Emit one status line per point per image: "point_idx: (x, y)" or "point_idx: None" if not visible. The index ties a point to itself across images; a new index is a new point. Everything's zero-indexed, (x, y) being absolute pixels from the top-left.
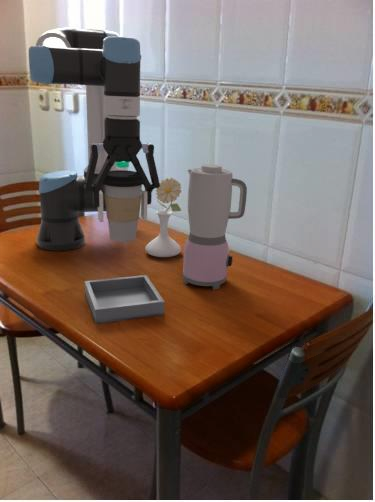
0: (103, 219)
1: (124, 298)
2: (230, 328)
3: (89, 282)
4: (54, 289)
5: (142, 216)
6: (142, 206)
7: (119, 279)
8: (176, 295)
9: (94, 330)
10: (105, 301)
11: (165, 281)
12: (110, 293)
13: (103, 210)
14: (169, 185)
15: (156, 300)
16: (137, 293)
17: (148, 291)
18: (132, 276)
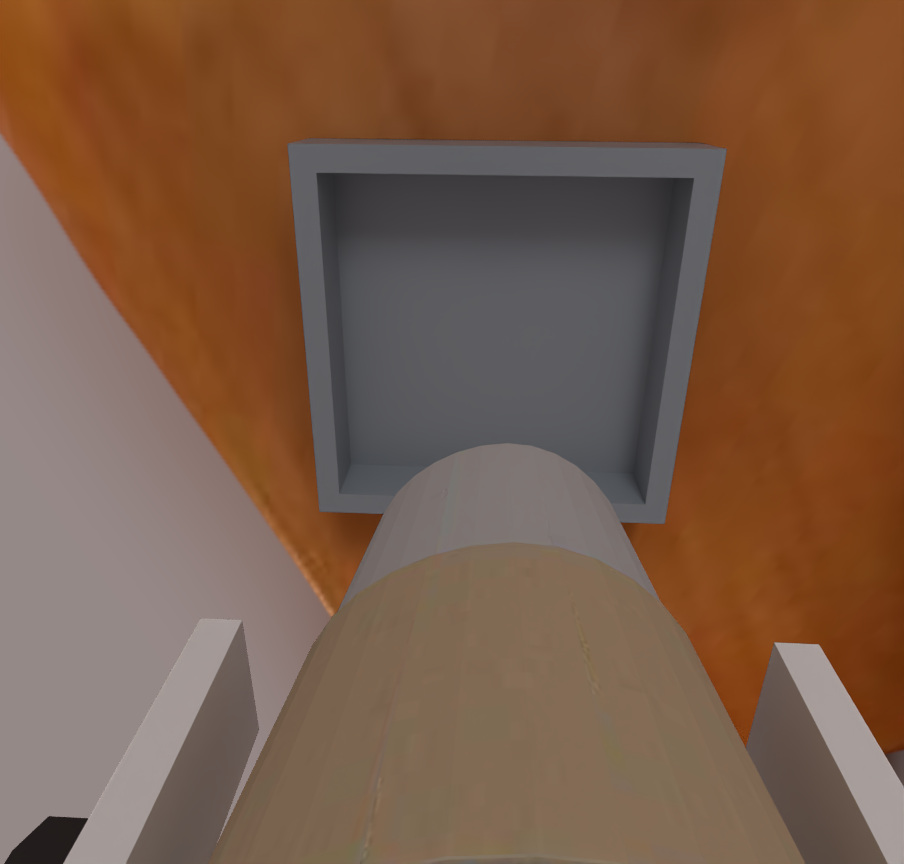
0: (249, 753)
1: (513, 296)
2: (853, 647)
3: (317, 173)
4: (119, 9)
5: (766, 718)
6: (824, 849)
7: (520, 174)
8: (817, 309)
9: (325, 519)
10: (405, 304)
11: (870, 79)
12: (451, 211)
13: None
14: None
15: (631, 505)
16: (604, 255)
17: (663, 294)
18: (621, 149)
